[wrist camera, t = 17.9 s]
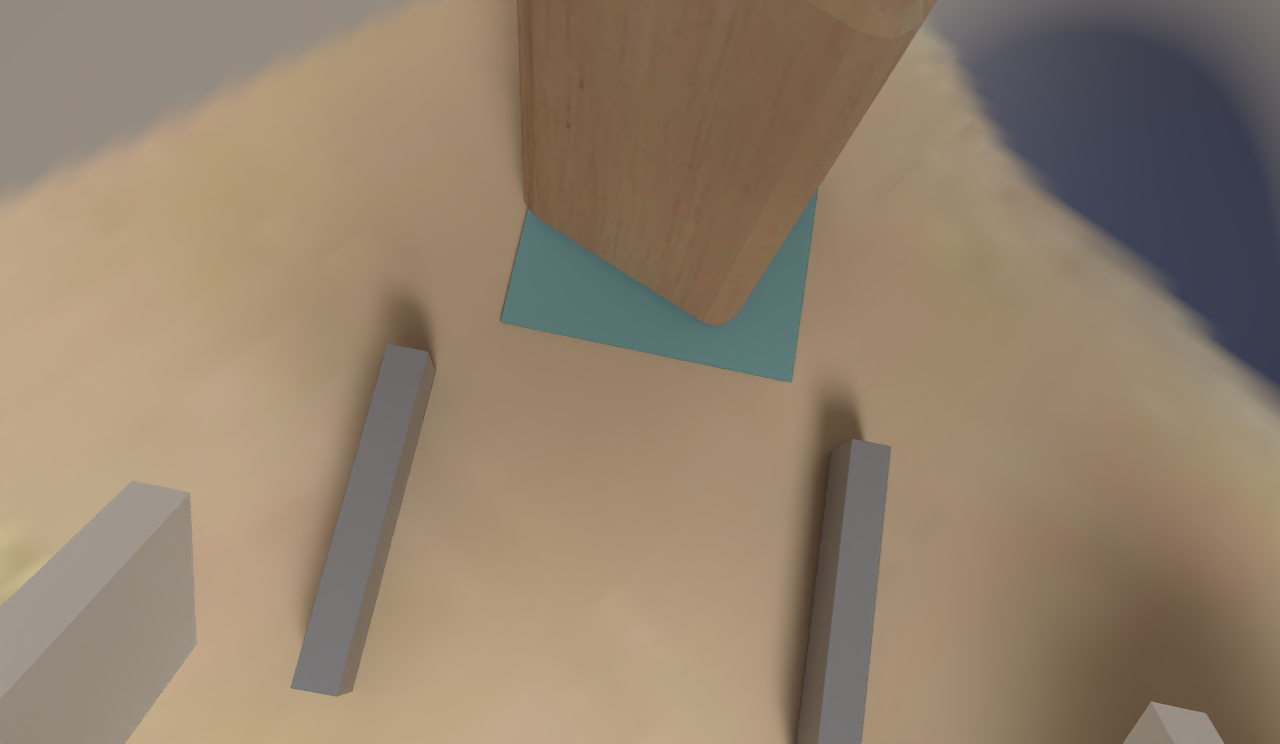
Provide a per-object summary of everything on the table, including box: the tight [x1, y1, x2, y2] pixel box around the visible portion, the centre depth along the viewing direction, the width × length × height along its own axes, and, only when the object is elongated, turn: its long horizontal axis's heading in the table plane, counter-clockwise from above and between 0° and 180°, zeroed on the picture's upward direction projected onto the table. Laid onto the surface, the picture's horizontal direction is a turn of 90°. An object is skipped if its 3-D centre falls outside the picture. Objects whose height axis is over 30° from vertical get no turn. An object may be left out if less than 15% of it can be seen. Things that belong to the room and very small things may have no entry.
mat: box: [501, 189, 818, 382], centre depth 38 cm, size 12×12×1 cm
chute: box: [291, 343, 891, 744], centre depth 32 cm, size 12×19×2 cm, turn 80°
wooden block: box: [517, 0, 937, 326], centre depth 28 cm, size 10×10×20 cm
